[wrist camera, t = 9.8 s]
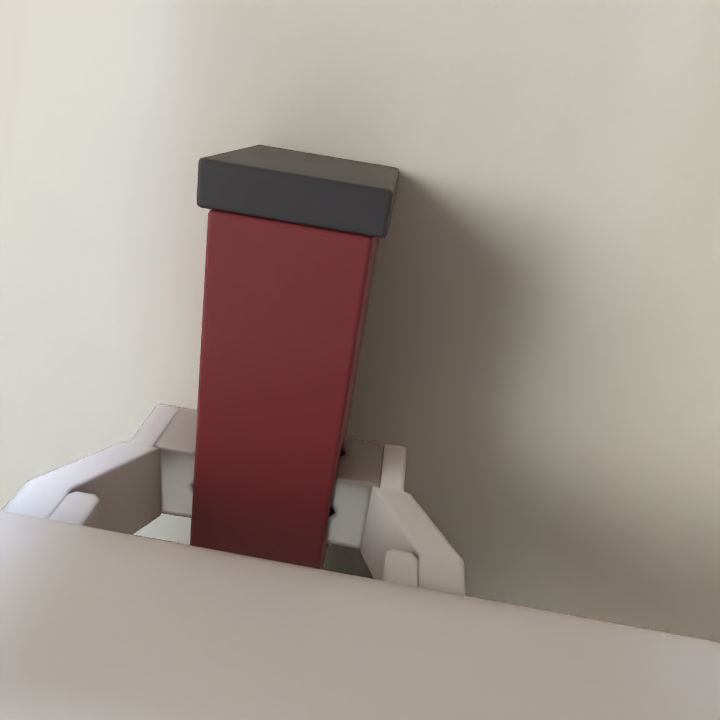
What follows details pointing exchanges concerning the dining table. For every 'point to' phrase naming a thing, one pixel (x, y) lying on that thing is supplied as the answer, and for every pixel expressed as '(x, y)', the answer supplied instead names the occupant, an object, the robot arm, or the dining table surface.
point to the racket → (280, 342)
